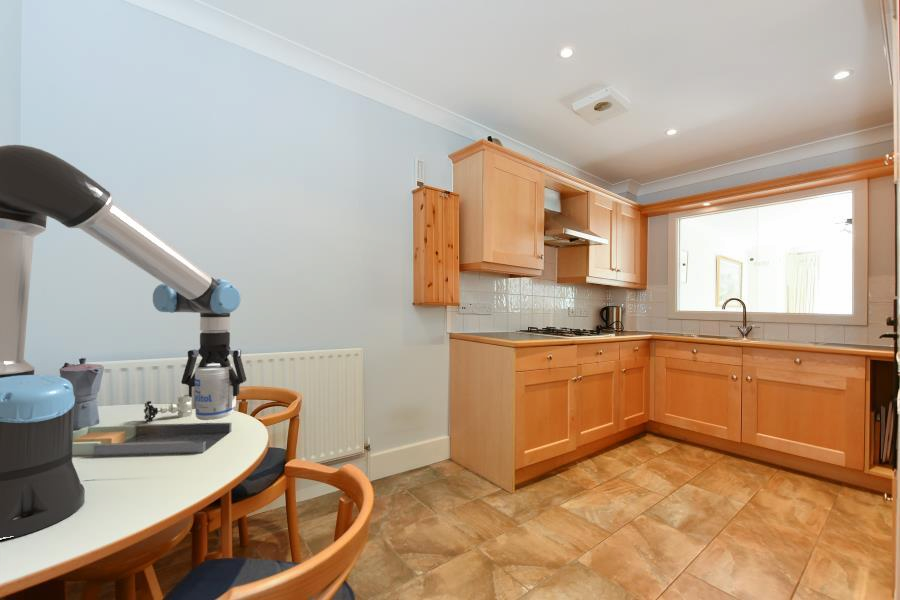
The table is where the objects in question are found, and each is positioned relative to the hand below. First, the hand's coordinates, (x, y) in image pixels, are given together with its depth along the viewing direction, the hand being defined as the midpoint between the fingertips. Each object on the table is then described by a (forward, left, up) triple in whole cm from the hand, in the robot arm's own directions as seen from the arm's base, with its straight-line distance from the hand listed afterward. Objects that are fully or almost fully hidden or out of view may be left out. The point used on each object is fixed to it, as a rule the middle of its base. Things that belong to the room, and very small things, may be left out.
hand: (214, 407), depth 112 cm
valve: (+10, +17, -6) cm, 21 cm away
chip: (-13, +23, -6) cm, 27 cm away
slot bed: (-13, +5, -6) cm, 15 cm away
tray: (-13, +23, -6) cm, 27 cm away
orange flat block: (-13, +19, -6) cm, 23 cm away
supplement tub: (+1, 0, -3) cm, 3 cm away
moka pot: (+4, +39, -6) cm, 40 cm away
